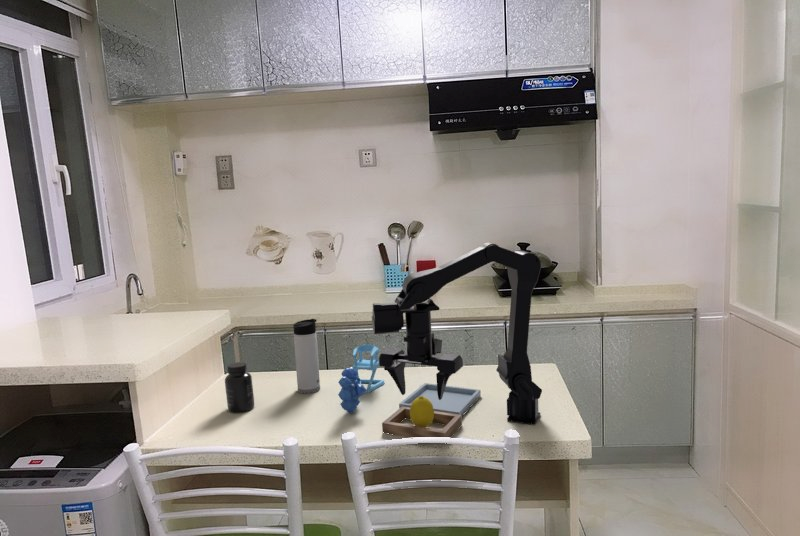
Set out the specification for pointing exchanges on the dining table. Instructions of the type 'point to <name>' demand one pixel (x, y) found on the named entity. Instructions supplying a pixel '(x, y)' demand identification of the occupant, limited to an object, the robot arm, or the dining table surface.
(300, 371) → the travel mug
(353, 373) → the grapes
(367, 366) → the chair
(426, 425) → the lemon
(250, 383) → the supplement bottle
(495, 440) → the dining table surface
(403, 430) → the holder
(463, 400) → the tray
